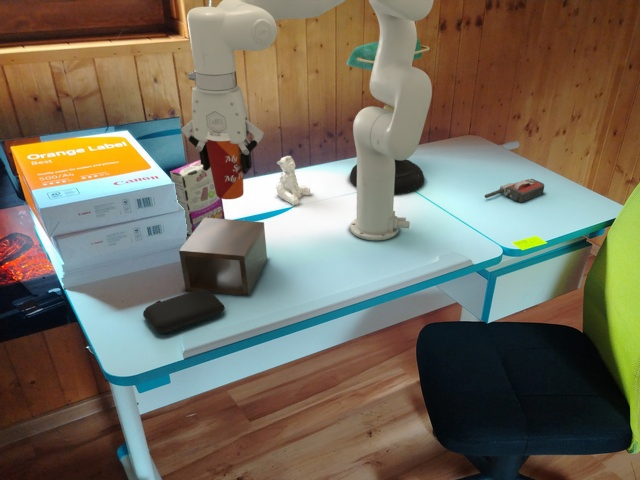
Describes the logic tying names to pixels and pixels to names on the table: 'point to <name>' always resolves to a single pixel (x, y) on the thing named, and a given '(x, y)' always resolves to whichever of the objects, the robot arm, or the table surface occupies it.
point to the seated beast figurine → (290, 182)
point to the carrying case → (183, 311)
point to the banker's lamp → (405, 170)
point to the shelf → (224, 256)
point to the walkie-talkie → (520, 190)
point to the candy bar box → (197, 194)
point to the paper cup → (225, 165)
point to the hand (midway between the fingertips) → (227, 169)
